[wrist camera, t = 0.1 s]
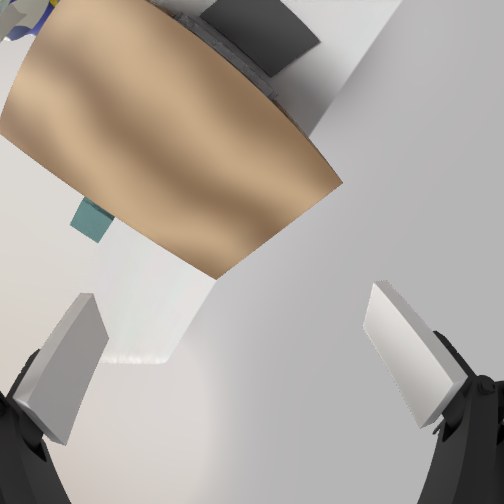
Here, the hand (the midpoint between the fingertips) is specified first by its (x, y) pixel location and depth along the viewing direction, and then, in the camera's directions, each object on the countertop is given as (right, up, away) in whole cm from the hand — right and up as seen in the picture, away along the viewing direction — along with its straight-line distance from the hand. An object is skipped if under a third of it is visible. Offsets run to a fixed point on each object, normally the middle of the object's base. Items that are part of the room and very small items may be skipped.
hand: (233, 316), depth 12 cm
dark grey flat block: (+2, +29, +11) cm, 31 cm away
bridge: (-7, +23, +16) cm, 29 cm away
